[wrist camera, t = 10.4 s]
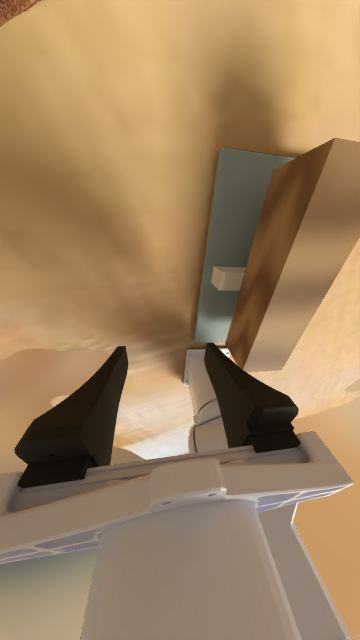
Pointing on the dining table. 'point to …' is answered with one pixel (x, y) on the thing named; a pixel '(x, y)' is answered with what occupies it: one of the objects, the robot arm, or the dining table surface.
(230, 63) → the dining table surface
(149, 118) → the dining table surface
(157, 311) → the dining table surface
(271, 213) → the walnut bar
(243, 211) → the ridge stand
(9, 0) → the wooden tablet
